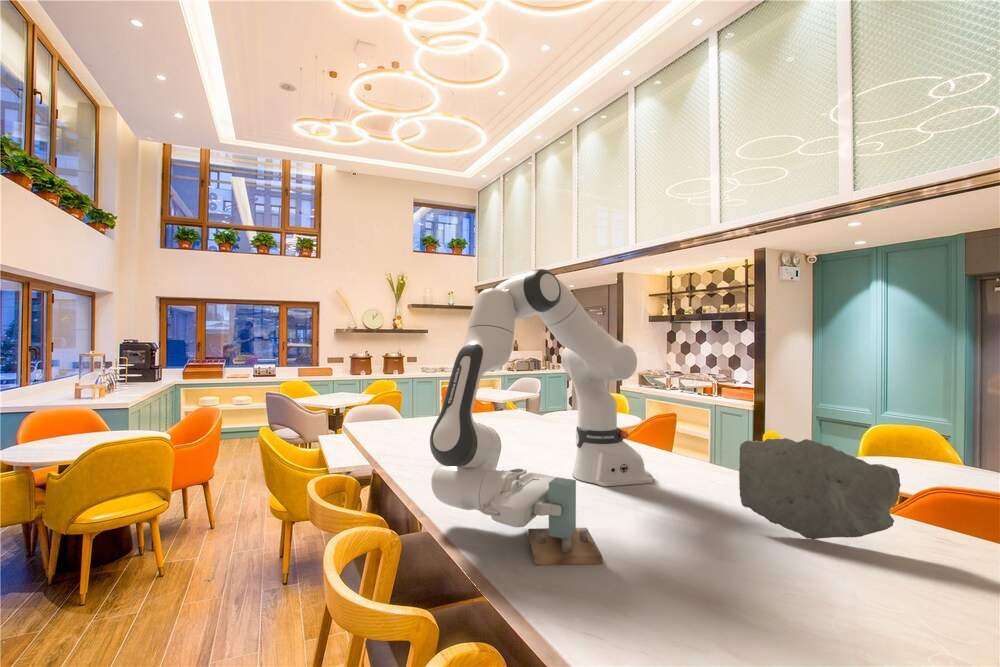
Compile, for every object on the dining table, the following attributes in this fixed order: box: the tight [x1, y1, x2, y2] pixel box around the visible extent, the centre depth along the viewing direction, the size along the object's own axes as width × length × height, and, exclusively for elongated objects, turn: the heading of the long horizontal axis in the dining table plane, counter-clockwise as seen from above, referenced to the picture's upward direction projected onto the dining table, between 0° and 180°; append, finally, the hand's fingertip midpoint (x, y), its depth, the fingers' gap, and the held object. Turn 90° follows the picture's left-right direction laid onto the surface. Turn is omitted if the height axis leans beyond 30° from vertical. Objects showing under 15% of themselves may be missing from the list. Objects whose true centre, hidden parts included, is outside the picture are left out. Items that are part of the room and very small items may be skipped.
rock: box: [738, 437, 902, 540], centre depth 93 cm, size 27×6×20 cm, turn 61°
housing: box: [527, 527, 603, 566], centre depth 89 cm, size 12×12×4 cm
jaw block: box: [548, 476, 577, 539], centre depth 89 cm, size 4×4×10 cm
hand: (566, 505), depth 89 cm, fingers closed on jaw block, 4 cm apart
